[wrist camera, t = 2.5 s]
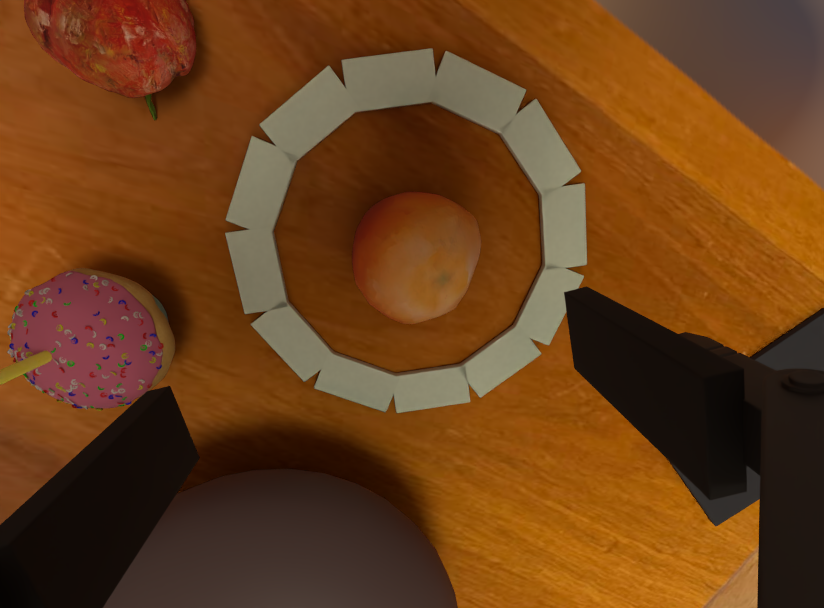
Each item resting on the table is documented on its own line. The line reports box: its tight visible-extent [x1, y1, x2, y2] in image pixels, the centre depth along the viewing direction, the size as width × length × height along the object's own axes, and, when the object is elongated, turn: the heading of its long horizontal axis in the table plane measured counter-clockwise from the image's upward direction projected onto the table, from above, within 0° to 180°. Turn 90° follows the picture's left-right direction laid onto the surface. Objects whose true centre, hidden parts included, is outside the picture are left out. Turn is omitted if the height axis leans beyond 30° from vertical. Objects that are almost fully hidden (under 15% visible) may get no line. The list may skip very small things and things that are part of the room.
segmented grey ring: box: [225, 48, 587, 413], centre depth 31 cm, size 24×24×1 cm
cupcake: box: [0, 268, 175, 411], centre depth 25 cm, size 9×8×12 cm
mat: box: [669, 308, 824, 526], centre depth 37 cm, size 16×12×1 cm
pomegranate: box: [24, 0, 196, 120], centre depth 24 cm, size 7×7×10 cm
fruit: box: [352, 192, 481, 324], centre depth 28 cm, size 8×8×8 cm
